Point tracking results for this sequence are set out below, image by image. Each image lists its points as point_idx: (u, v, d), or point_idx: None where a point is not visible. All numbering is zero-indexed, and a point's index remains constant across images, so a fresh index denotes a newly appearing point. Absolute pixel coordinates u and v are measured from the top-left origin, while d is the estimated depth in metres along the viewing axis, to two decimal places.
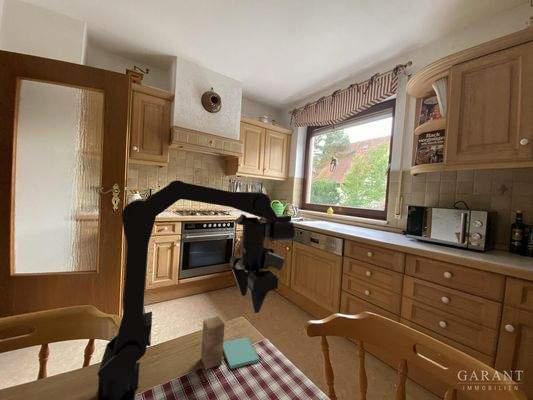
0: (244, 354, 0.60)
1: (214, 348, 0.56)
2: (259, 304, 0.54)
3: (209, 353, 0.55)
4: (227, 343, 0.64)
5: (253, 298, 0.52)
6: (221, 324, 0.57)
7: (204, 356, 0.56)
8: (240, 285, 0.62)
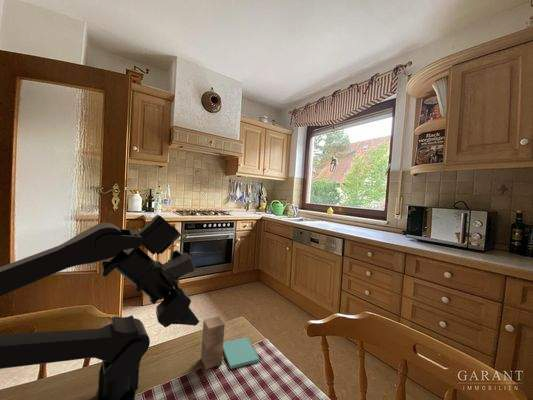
0: (244, 354, 0.60)
1: (214, 348, 0.56)
2: (192, 318, 0.49)
3: (209, 353, 0.55)
4: (227, 343, 0.64)
5: (179, 322, 0.47)
6: (221, 324, 0.57)
7: (204, 356, 0.56)
8: None
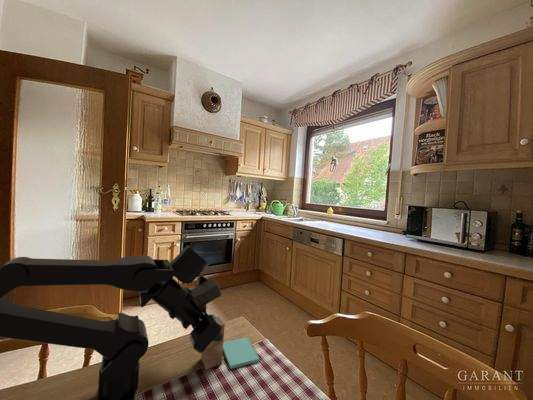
0: (244, 354, 0.60)
1: (214, 348, 0.56)
2: (217, 335, 0.55)
3: (209, 353, 0.55)
4: (227, 343, 0.64)
5: None
6: (221, 324, 0.57)
7: (204, 356, 0.56)
8: None
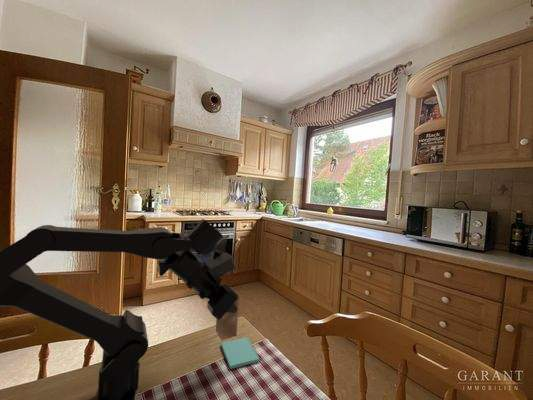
0: (244, 354, 0.60)
1: (229, 320, 0.57)
2: (232, 306, 0.56)
3: (224, 324, 0.57)
4: (227, 343, 0.64)
5: None
6: None
7: (219, 328, 0.58)
8: None
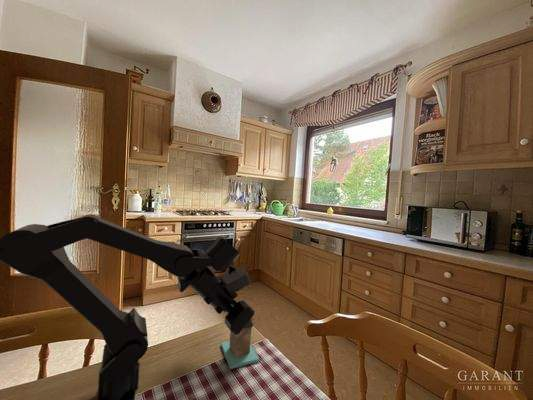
0: (244, 354, 0.60)
1: (243, 337, 0.60)
2: (249, 322, 0.58)
3: (238, 342, 0.59)
4: (227, 343, 0.64)
5: None
6: None
7: (233, 345, 0.60)
8: None
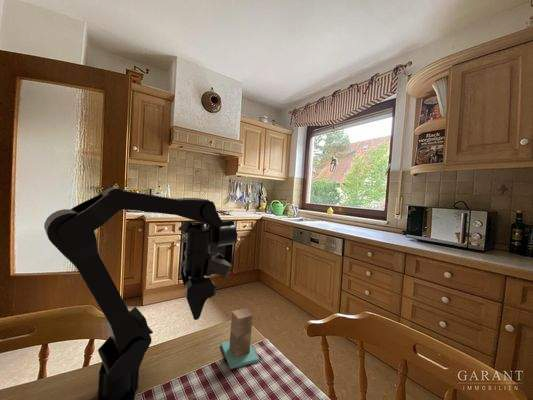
0: None
1: (243, 338, 0.60)
2: (198, 311, 0.54)
3: (238, 342, 0.59)
4: (227, 343, 0.64)
5: (190, 305, 0.52)
6: (249, 315, 0.60)
7: (233, 345, 0.60)
8: None
